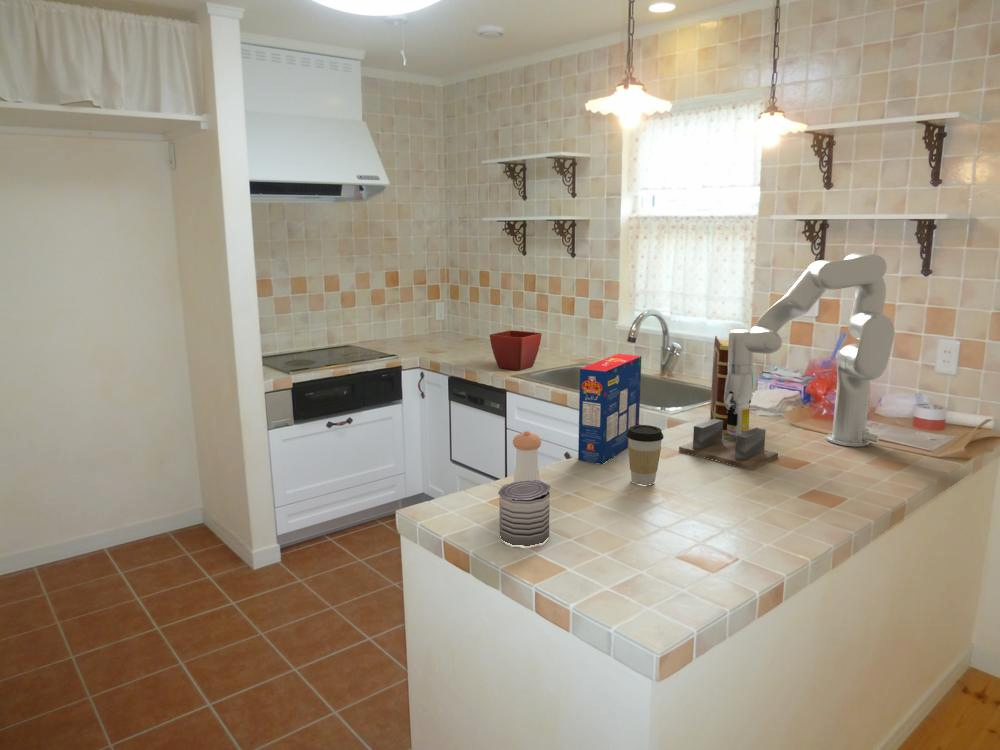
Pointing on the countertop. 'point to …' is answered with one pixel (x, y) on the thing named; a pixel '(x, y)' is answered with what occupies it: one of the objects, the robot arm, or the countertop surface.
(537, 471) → the pepper shaker
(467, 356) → the countertop surface
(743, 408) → the supplement bottle
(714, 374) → the decorative book
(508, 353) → the plant pot
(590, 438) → the blue cereal box
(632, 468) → the coffee cup
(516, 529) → the can
